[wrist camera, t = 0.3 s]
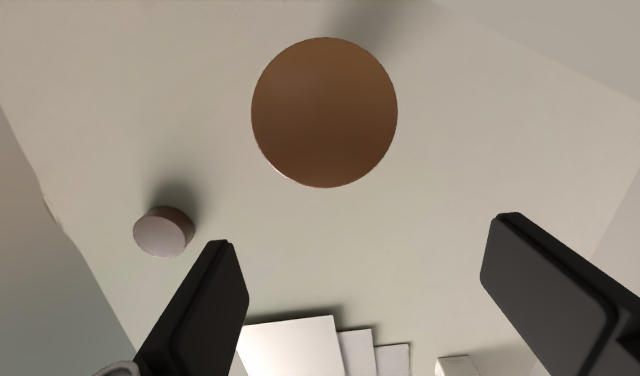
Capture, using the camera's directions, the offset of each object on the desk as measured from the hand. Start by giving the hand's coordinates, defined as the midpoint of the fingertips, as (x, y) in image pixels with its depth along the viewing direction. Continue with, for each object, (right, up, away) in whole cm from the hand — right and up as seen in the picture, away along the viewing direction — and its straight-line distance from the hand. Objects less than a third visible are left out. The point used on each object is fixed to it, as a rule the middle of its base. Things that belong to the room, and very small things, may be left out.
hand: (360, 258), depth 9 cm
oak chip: (-1, +6, +3) cm, 7 cm away
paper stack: (0, -25, +28) cm, 38 cm away
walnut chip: (-18, -2, +18) cm, 25 cm away
